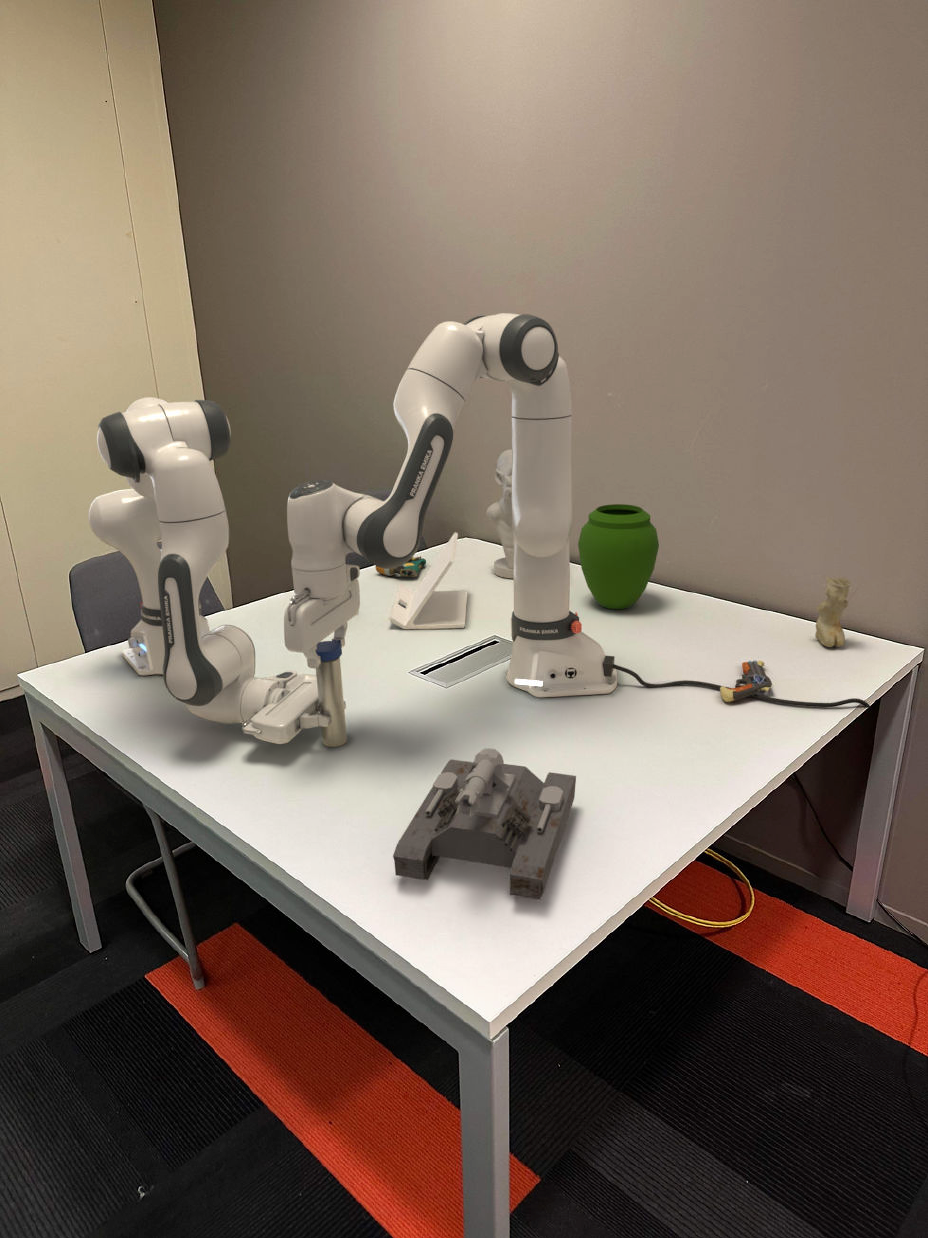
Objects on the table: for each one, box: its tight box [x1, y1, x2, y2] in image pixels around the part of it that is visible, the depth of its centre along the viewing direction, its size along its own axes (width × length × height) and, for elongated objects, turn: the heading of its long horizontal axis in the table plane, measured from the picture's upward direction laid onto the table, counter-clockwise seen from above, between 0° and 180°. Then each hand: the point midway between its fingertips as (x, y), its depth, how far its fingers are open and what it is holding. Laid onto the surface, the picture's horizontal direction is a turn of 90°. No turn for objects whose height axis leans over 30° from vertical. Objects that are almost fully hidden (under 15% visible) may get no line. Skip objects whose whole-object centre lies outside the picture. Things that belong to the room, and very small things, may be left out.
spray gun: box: [375, 555, 427, 578], centre depth 245 cm, size 4×17×15 cm
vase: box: [577, 503, 660, 610], centre depth 210 cm, size 20×20×24 cm
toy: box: [392, 747, 577, 901], centre depth 120 cm, size 25×20×15 cm
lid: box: [315, 640, 343, 661], centre depth 146 cm, size 5×5×2 cm
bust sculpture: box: [485, 448, 514, 579], centre depth 231 cm, size 16×24×35 cm
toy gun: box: [719, 660, 774, 703], centre depth 169 cm, size 3×19×10 cm
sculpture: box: [814, 576, 852, 648], centre depth 185 cm, size 6×7×15 cm
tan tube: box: [315, 656, 348, 748], centre depth 149 cm, size 4×4×18 cm
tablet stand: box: [388, 531, 468, 630], centre depth 211 cm, size 18×25×17 cm
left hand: (337, 713), depth 150 cm, fingers closed on tan tube, 4 cm apart
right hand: (327, 656), depth 146 cm, fingers open, 7 cm apart
